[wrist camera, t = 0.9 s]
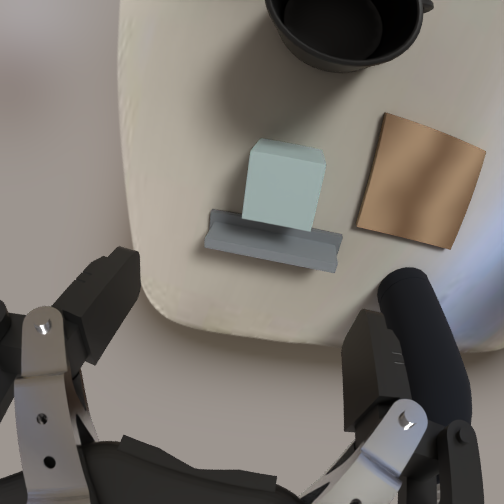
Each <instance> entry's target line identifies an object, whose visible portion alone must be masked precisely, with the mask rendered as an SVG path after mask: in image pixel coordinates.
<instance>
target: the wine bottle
mask: <svg viewBox="0 0 504 504" xmlns="http://www.w3.org/2000/svg"><path fill="white" fill-rule="evenodd" d="M377 296H378V302H379V306H380V310H381V313H382V314H383V315H384V318H385V322H386V326H387V329H391V330H392V331H393V332H394V334H395V335H396V337H397V338H398V340H399V342H400V346H401V350H402V355H403V358H404V365H405V367H406V372H407V377H408V381H409V386H410V391H411V397H412V400H413V401H415V402H416V403H418V404H419V405H420V406H421V407H422V408H423V410H424V411H425V413H426V416H427V420H430V421H432V422H435V423H437V424H440V425H443V426H446V427H447V426H448V425H449V424H450V423H452V422H453V421H455V420H464V421H466V422H467V423H469V424H470V425H471V417H472V397H471V389H470V382H469V379H468V376H467V373H466V370H465V367H464V364H463V361H462V358H461V356H460V353H459V350H458V347H457V345H456V342H455V339H454V337H453V334H452V332H451V329H450V327H449V324H448V322H447V320H446V317H445V315H444V313H443V310H442V308H441V306H440V303H439V301H438V299H437V297H436V294H435V292H434V290H433V288H432V286H431V284H430V282H429V280H428V278H427V275H426V274H425V273H424V272H422V271H421V270H419V269H416V268H407V267H405V268H402V269H398V270H396V271H394V272H392V273H390V274H389V275H388V276H387V277H386V278H385V279H384V280H383V281H382V283H381V284H380V286H379V289H378V293H377ZM436 481H437V504H438V503H439V501H440V479H439V474H438V475H436Z"/></svg>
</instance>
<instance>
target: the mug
mask: <svg viewBox="0 0 504 504" xmlns="http://www.w3.org/2000/svg"><path fill="white" fill-rule="evenodd" d="M265 3H266V7H267V10H268V12H269V15H270V17H271V19H272V21H273V22H274V24H275V26H276V28H277V30H278V32H279V34H280V36H281V38H282V40H283V42H284V43H285V45H286V46H287V48H288V49H289V50H290V51H291V52H292V53H293V54H294V55H295V56H296V57H297V58H298V59H300V60H301V61H303V62H304V63H306V64H308V65H310V66H312V67H314V68H317V69H320V70H324V71H328V72H337V73H343V72H352V71H356V70H360V69H363V68H367V67H371V66H375V65H379V64H382V63H385V62H388V61H391V60H393V59H395V58H396V57H398V56H400V55H401V54H403V53H404V52H405V51H406V50H408V49H409V47H410V46H411V45H412V44H413V43H414V41H415V40H416V38H417V36H418V34H419V32H420V29H421V26H422V21H423V13H426V12H429V11H430V10H432V9H433V8H434V5H433V2H432V1H431V0H265Z"/></svg>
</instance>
